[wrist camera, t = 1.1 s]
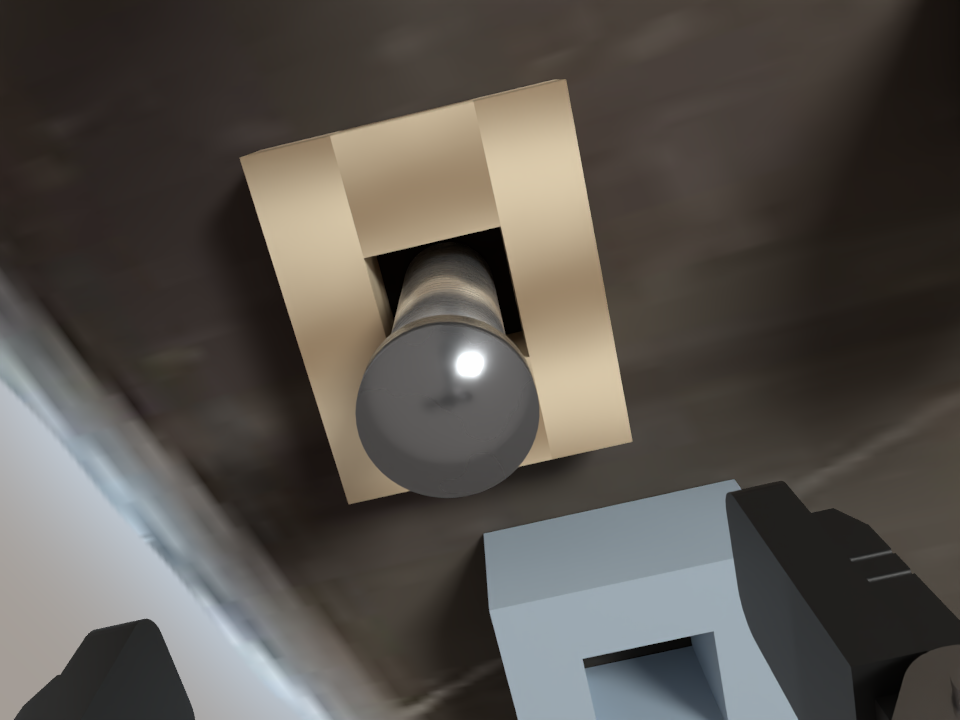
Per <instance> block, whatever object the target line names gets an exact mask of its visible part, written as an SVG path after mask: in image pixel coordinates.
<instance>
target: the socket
mask: <svg viewBox="0 0 960 720" xmlns="http://www.w3.org/2000/svg"><path fill="white" fill-rule="evenodd" d="M737 490H741V488H740V487H739V485H738V484H737V482H736V481H735V480H734V479H732V480H728V481H723V482H719V483H714V484H709V485H705V486H700V487H696V488H691V489H687V490H682V491H677V492H673V493H668V494H664V495H659V496H654V497H650V498H645V499H641V500H636V501H632V502H627V503H622V504H618V505H613V506H609V507H604V508H599V509H595V510H590V511H586V512H581V513H577V514H572V515H567V516H563V517H558V518H554V519H549V520H545V521H540V522H535V523H531V524H526V525H522V526H517V527H512V528H508V529H503V530H499V531H494V532H490V533H485V534H484V546H485V560H486V574H487V588H488V601H489V612H490V616H491V619H492V623H493V627H494V631H495V635H496V638H497V642H498V646H499V650H500V653H501V657H502V661H503V665H504V669H505V672H506V676H507V680H508V684H509V687H510V691H511V695H512V699H513V703H514V706H515V710H516V714H517V718H518V720H798V718H797V716H796V715H795V713H794V711H793V709H792V707H791V705H790V704H789V702H788V700H787V698H786V696H785V695H784V693H783V691H782V689H781V687H780V685H779V684H778V682H777V680H776V678H775V676H774V674H773V673H772V671H771V669H770V667H769V665H768V664H767V662H766V660H765V658H764V656H763V654H762V653H761V651H760V649H759V647H758V645H757V644H756V642H755V640H754V638H753V636H752V634H751V631H750V629H749V626H748V624H747V621H746V618H745V615H744V612H743V609H742V605H741V601H740V597H739V592H738V586H737V579H736V573H735V566H734V559H733V553H732V546H731V539H730V533H729V526H728V519H727V513H726V503H725V499H726V494H727V493H728V492H732V491H737ZM688 636H691V642H692V646H689V647H685V648H680V649H675V650H670V651H666V652H661V653H656V654H651V655H647V656H642V657H637V658H632V659H628V660H623V661H618V662H613V663H609V664H604V665H599V666H594V667H590V668H584V664H583V659H584V658H589V657H594V656H598V655H603V654H608V653H613V652H617V651H622V650H627V649H632V648H636V647H641V646H646V645H651V644H655V643H660V642H665V641H670V640H674V639H679V638H684V637H688Z"/></svg>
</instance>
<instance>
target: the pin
mask: <svg viewBox="0 0 960 720" xmlns="http://www.w3.org/2000/svg"><path fill="white" fill-rule="evenodd" d="M355 415H356V426H357V430H358V434H359V438H360V440H361V443H362V446H363V448H364V449H365V451H366V453H367V455H368V457H369V458H370V459H371V461H372V462H373V463H374V465H375V466H376V467H377V468H378V469H379V470H380V471H381V472H382V473H383V474H384V475H385V476H387V477H388V478H389V479H390V480H391V481H393V482H395V483H396V484H398V485H400V486H401V487H403V488H405V489H408V490H410V491H412V492H415V493H418V494H421V495H426V496H431V497H439V498H458V497H464V496H469V495H473V494H477V493H480V492H482V491H485V490H487V489H490V488H492V487H493V486H495V485H497V484H499V483H500V482H502V481H503V480H504V479H506V478H507V477H508V476H510V475H511V474H512V473H513V472H514V471H515V470H516V469H517V468H518V467H519V466H520V464H521V463H522V462H523V461H524V459H525V458H526V456H527V455H528V453H529V451H530V450H531V447H532V445H533V443H534V440H535V438H536V434H537V430H538V425H539V400H538V394H537V391H536V387H535V384H534V380H533V377H532V373H531V370H530V368H529V365H528V363H527V361H526V359H525V357H524V356H523V354H522V353H521V351H520V350H519V348H518V347H517V346H516V345H515V344H514V343H513V341H512V340H510V339H509V338H508V337H507V336H506V335H505V330H504V325H503V321H502V316H501V312H500V307H499V303H498V298H497V294H496V289H495V284H494V280H493V276H492V272H491V270H490V267H489V265H488V264H487V262H486V261H485V259H484V258H483V257H482V256H481V255H480V254H479V253H478V252H477V251H475V250H474V249H472V248H470V247H468V246H466V245H463V244H460V243H455V242H442V243H437V244H434V245H431V246H429V247H427V248H425V249H424V250H422V251H421V252H420V253H418V254H417V255H416V256H415V257H414V258H413V260H412V261H411V263H410V264H409V266H408V268H407V271H406V273H405V277H404V282H403V286H402V290H401V294H400V299H399V303H398V307H397V311H396V316H395V320H394V324H393V328H392V333H391V335H390V336H388V337H387V338H386V339H385V340H384V341H383V342H382V343H381V344H380V345H379V346H378V348H377V349H376V350H375V352H374V353H373V355H372V356H371V358H370V360H369V362H368V364H367V366H366V369H365V372H364V374H363V377H362V381H361V384H360V387H359V391H358V396H357V400H356V412H355Z"/></svg>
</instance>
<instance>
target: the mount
mask: <svg viewBox="0 0 960 720" xmlns="http://www.w3.org/2000/svg"><path fill="white" fill-rule="evenodd" d="M240 161H241V164H242V167H243V170H244V173H245V177H246V180H247V183H248V186H249V189H250V193H251V196H252V199H253V202H254V205H255V208H256V212H257V215H258V218H259V221H260V224H261V227H262V231H263V234H264V237H265V240H266V243H267V247H268V250H269V253H270V256H271V259H272V262H273V266H274V269H275V272H276V275H277V278H278V282H279V285H280V288H281V291H282V294H283V297H284V301H285V304H286V307H287V310H288V313H289V316H290V320H291V323H292V326H293V329H294V332H295V336H296V339H297V342H298V345H299V348H300V351H301V355H302V358H303V361H304V364H305V367H306V370H307V374H308V377H309V380H310V383H311V386H312V390H313V393H314V396H315V399H316V402H317V405H318V409H319V412H320V415H321V418H322V421H323V425H324V428H325V431H326V434H327V437H328V440H329V444H330V447H331V450H332V453H333V456H334V459H335V463H336V466H337V469H338V472H339V475H340V479H341V482H342V485H343V488H344V491H345V494H346V498H347V501H348V504H353V503H357V502H362V501H366V500H371V499H375V498H380V497H384V496H389V495H393V494H398V493H402V492H407V491H410V490H408V489H405V488H403V487H401V486H400V485H398V484H396V483H395V482H393V481H391V480H390V479H389V478H388V477H387V476H385V475H384V474H383V473H382V472H381V471H380V470H379V469H378V468H377V467H376V466H375V465H374V463H373V462H372V461H371V459H370V458H369V457H368V455H367V453H366V451H365V449H364V448H363V446H362V443H361V440H360V438H359V434H358V430H357V426H356V415H355V412H356V400H357V396H358V391H359V387H360V384H361V381H362V377H363V374H364V372H365V369H366V366H367V364H368V362H369V360H370V358H371V356H372V355H373V353H374V352H375V350H376V349H377V348H378V346H379V345H380V344H381V343H382V342H383V341H384V340H385V339H386V338H387V337H388V336H390V335H391V333H392V328H393V324H394V318H393V315H392V311H391V307H390V304H389V300H388V296H387V293H386V289H385V285H384V282H383V278H382V274H381V271H380V267H379V263H378V260H377V256H376V255H380V254H385V253H389V252H393V251H397V250H402V249H406V248H410V247H415V246H419V245H423V244H427V243H432V242H436V241H440V240H445V239H449V238H453V237H457V236H462V235H466V234H470V233H475V232H479V231H483V230H487V229H492V228H496V227H499V228H500V233H501V237H502V242H503V246H504V251H505V255H506V260H507V265H508V269H509V274H510V278H511V283H512V287H513V292H514V296H515V301H516V305H517V310H518V314H519V319H520V323H521V328H522V331H520V332H515V333H511V334H506V336H507V337H508V338H509V339H510V340H512V341H513V343H514V344H515V345H516V346H517V347H518V348H519V350H520V351H521V353H522V354H523V356H524V357H525V359H526V361H527V363H528V365H529V368H530V370H531V373H532V377H533V380H534V384H535V387H536V391H537V394H538V400H539V425H538V430H537V434H536V438H535V440H534V443H533V445H532V447H531V450H530V451H529V453H528V455H527V456H526V458H525V459H524V461H523V462H522V463H521V464H520V466H524V465H529V464H534V463H538V462H543V461H547V460H552V459H556V458H561V457H565V456H570V455H574V454H579V453H583V452H588V451H592V450H597V449H601V448H606V447H610V446H615V445H619V444H624V443H628V442H632V437H631V431H630V426H629V420H628V415H627V409H626V404H625V398H624V393H623V388H622V382H621V377H620V371H619V366H618V360H617V355H616V349H615V344H614V339H613V333H612V328H611V322H610V317H609V311H608V306H607V300H606V295H605V290H604V284H603V279H602V273H601V268H600V262H599V257H598V251H597V246H596V241H595V235H594V230H593V224H592V219H591V213H590V208H589V202H588V197H587V192H586V186H585V181H584V175H583V170H582V164H581V159H580V153H579V148H578V143H577V137H576V132H575V126H574V121H573V115H572V110H571V104H570V99H569V94H568V88H567V83H566V79H562V80H551V81H546V82H542V83H538V84H534V85H530V86H526V87H521V88H517V89H513V90H509V91H505V92H501V93H496V94H492V95H488V96H484V97H480V98H476V99H471V100H467V101H463V102H459V103H455V104H451V105H446V106H442V107H438V108H434V109H430V110H426V111H421V112H417V113H413V114H409V115H405V116H401V117H396V118H392V119H388V120H384V121H380V122H376V123H371V124H367V125H363V126H359V127H355V128H351V129H346V130H342V131H338V132H334V133H330V134H326V135H321V136H317V137H313V138H309V139H305V140H301V141H296V142H292V143H288V144H284V145H280V146H276V147H271V148H267V149H263V150H260V151H257V152H254V153H251V154H248V155H246V156H243V157H240ZM520 466H519V467H520Z"/></svg>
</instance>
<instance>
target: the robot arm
mask: <svg viewBox="0 0 960 720" xmlns="http://www.w3.org/2000/svg"><path fill="white" fill-rule="evenodd" d="M725 503H726V513H727V519H728V526H729V533H730V539H731V546H732V553H733V559H734V566H735V573H736V579H737V586H738V592H739V597H740V601H741V605H742V609H743V612H744V615H745V618H746V621H747V624H748V626H749V629H750V631H751V634H752V636H753V638H754V640H755V642H756V644H757V645H758V647H759V649H760V651H761V653H762V654H763V656H764V658H765V660H766V662H767V664H768V665H769V667H770V669H771V671H772V673H773V674H774V676H775V678H776V680H777V682H778V684H779V685H780V687H781V689H782V691H783V693H784V695H785V696H786V698H787V700H788V702H789V704H790V705H791V707H792V709H793V711H794V713H795V715H796V716H797V718H798V720H960V620H959V619H958V618H957V617H956V616H955V615H954V614H953V613H952V612H951V611H950V610H949V609H948V608H947V607H946V606H945V605H944V604H943V603H942V601H941V600H940V599H939V598H938V597H937V596H936V595H935V594H934V593H933V592H932V591H931V590H930V589H929V588H928V587H927V586H926V585H925V584H924V583H923V582H922V581H921V579H920V578H919V577H918V576H917V575H916V574H912V573H911V571H910V568H909V567H908V566H907V565H906V564H905V563H904V562H903V561H902V560H901V559H900V557H899V556H898V555H897V554H896V553H894V554H893V553H892V551H891V548H890V547H889V546H888V545H887V544H886V543H885V542H884V541H883V540H882V539H881V538H880V537H879V535H878V534H877V533H876V532H875V531H874V530H873V529H872V528H871V527H870V526H869V525H868V524H865V523H863V522H861V521H859V520H857V519H855V518H853V517H851V516H849V515H847V514H844V513H842V512H840V511H838V510H836V509H834V508H832V509H828V510H823V511H819V512H814V513H810V511H809V510H808V509H807V508H806V507H805V505H804V504H803V503H802V502H801V501H800V500H799V498H798V497H797V496H796V495H795V494H794V492H793V491H792V490H791V489H790V488H789V487H788V485H787V484H786V483H785V482H783V481H778V482H773V483H769V484H764V485H760V486H755V487H751V488H746V489H741V490H737V491H732V492H728V493H727V494H726V499H725ZM14 720H195V717H194V712H193V709H192V706H191V703H190V701H189V698H188V696H187V694H186V691H185V689H184V686H183V684H182V682H181V679H180V677H179V674H178V672H177V670H176V667H175V665H174V663H173V660H172V658H171V655H170V653H169V651H168V648H167V646H166V643H165V641H164V639H163V636H162V634H161V632H160V630H159V628H158V627H157V625H156V624H155V623H154V622H153V621H151V620H149V619H142V620H138V621H133V622H129V623H124V624H119V625H114V626H110V627H105V628H101V629H96V630H93V631H91V632H90V633H89V634H88V635H87V636H86V637H85V639H84V640H83V642H82V643H81V645H80V646H79V648H78V649H77V651H76V652H75V654H74V655H73V657H72V658H71V660H70V661H69V663H68V664H67V666H66V667H65V669H64V670H63V672H62V673H61V675H57V676H56V677H55V678H54V679H52V680H51V681H50V682H49V683H48V684H47V685H46V686H45V687H44V688H43V689H41V690H40V691H39V692H38V693H37V694H36V695H35V696H34V697H33V698H32V699H30V701H28V702H27V703H26V704H25V705H24V706H23V707H22V709H21V710H20V712H19V713H18V714H17V716H16V717H15V719H14Z"/></svg>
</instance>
